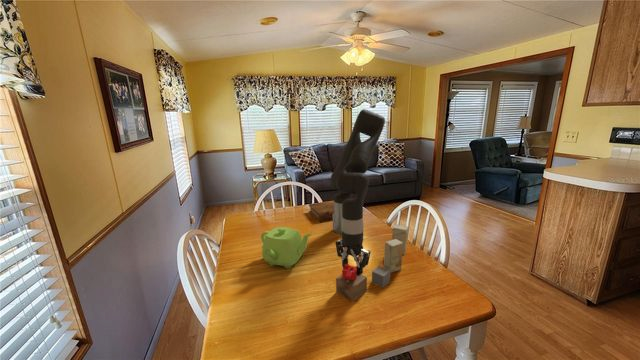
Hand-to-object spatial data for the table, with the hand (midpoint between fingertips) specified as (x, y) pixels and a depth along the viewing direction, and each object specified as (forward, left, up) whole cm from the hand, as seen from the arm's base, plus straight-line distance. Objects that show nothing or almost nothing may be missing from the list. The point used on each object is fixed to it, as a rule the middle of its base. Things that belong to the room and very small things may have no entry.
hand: (352, 271), depth 97 cm
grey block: (+5, +12, -9) cm, 15 cm away
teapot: (-33, -5, -9) cm, 35 cm away
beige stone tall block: (-1, +38, -9) cm, 39 cm away
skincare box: (+4, +23, -9) cm, 25 cm away
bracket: (0, -1, -1) cm, 1 cm away
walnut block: (0, 0, -9) cm, 9 cm away
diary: (-56, +52, -9) cm, 77 cm away
